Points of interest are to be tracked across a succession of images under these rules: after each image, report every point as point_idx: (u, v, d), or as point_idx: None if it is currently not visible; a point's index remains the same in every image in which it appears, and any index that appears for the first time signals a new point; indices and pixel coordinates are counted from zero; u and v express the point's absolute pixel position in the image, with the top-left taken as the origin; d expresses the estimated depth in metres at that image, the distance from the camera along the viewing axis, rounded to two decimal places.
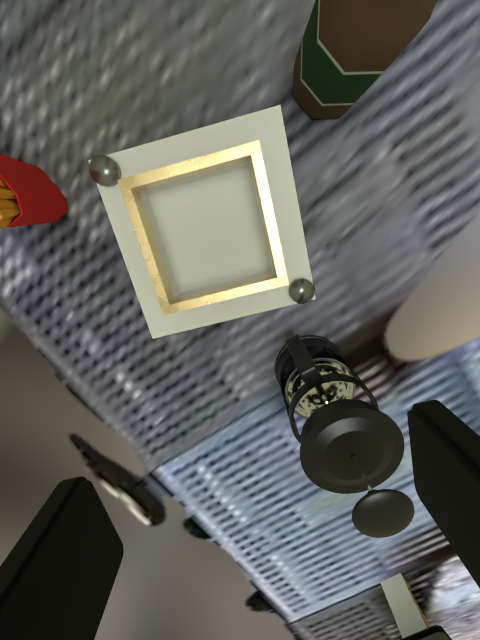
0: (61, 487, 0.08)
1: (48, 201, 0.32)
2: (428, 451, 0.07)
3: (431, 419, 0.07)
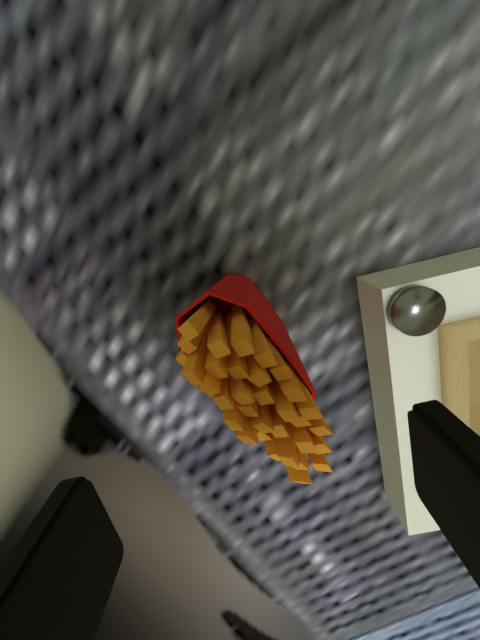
0: (61, 487, 0.08)
1: None
2: (428, 451, 0.07)
3: (431, 419, 0.07)
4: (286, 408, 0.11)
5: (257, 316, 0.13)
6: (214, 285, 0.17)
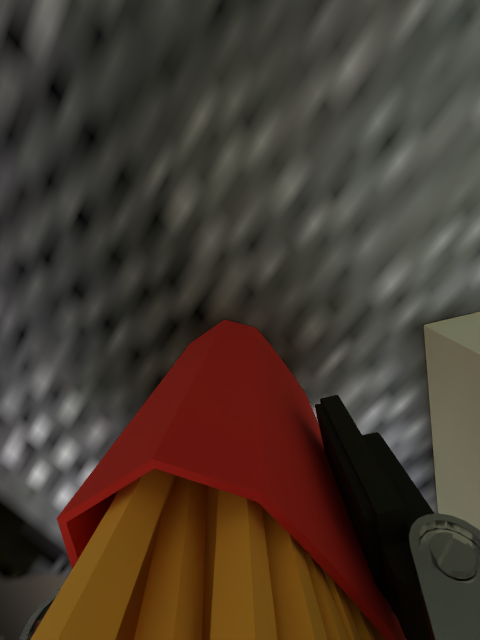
0: None
1: None
2: (325, 439, 0.08)
3: (327, 411, 0.08)
4: None
5: (290, 518, 0.05)
6: (193, 358, 0.09)
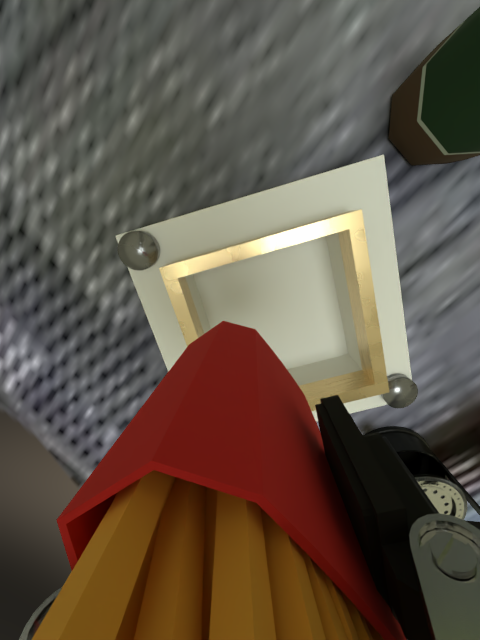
0: None
1: None
2: (325, 438, 0.08)
3: (327, 411, 0.08)
4: None
5: (288, 519, 0.05)
6: (192, 360, 0.09)
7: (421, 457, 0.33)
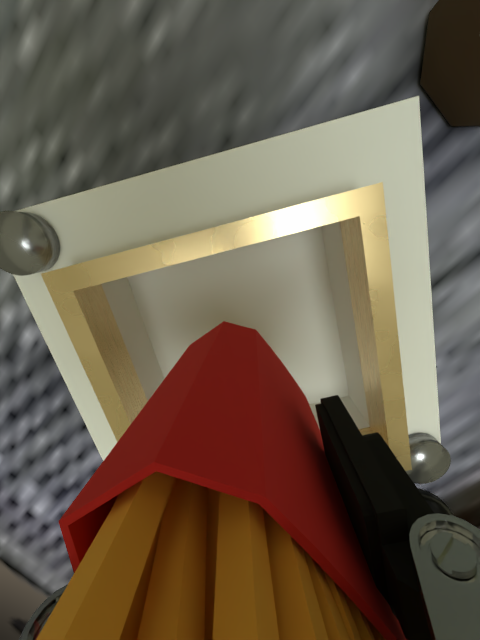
0: None
1: None
2: (325, 439, 0.08)
3: (327, 411, 0.08)
4: None
5: (291, 520, 0.05)
6: (193, 360, 0.09)
7: None
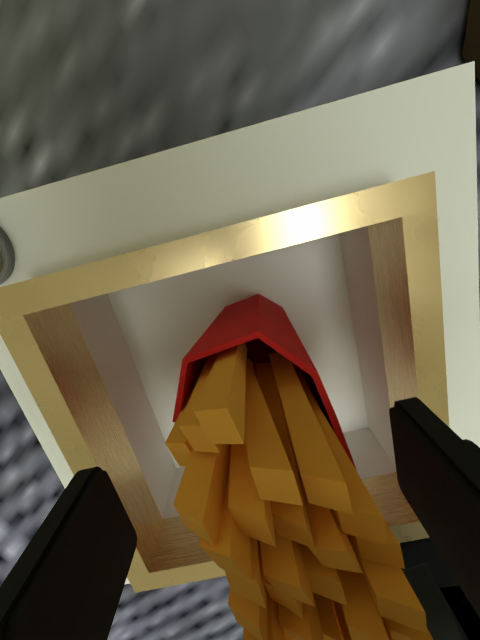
0: (79, 476, 0.08)
1: None
2: (407, 446, 0.07)
3: (410, 415, 0.07)
4: (372, 631, 0.05)
5: (326, 395, 0.07)
6: (243, 308, 0.12)
7: None
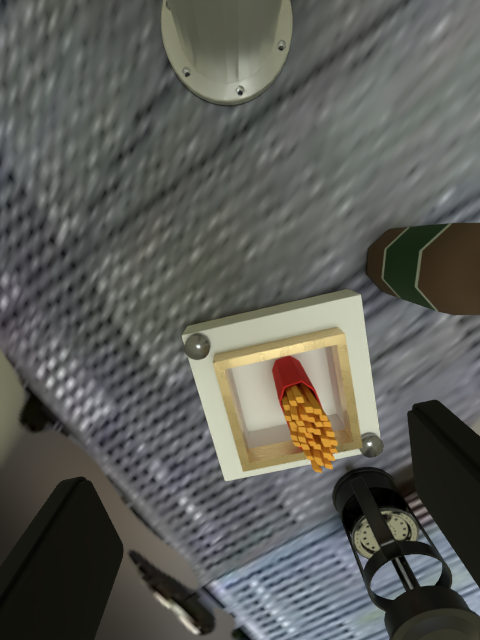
0: (61, 487, 0.08)
1: None
2: (428, 451, 0.07)
3: (431, 419, 0.07)
4: (325, 438, 0.27)
5: (317, 395, 0.29)
6: (289, 366, 0.34)
7: (390, 491, 0.43)
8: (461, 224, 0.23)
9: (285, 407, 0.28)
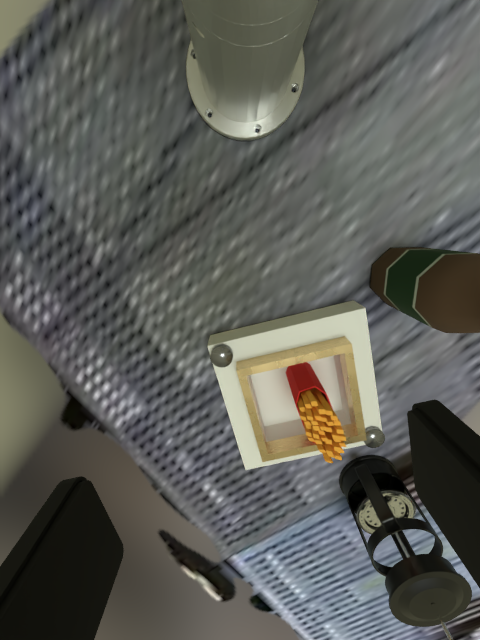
0: (61, 487, 0.08)
1: None
2: (428, 451, 0.07)
3: (431, 419, 0.07)
4: (336, 435, 0.32)
5: (328, 398, 0.34)
6: (302, 371, 0.38)
7: (390, 476, 0.48)
8: (452, 257, 0.27)
9: (301, 409, 0.33)
